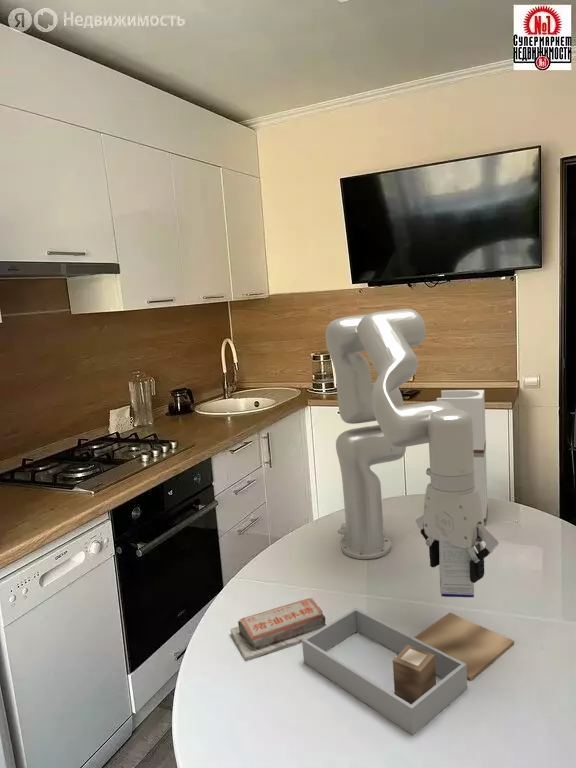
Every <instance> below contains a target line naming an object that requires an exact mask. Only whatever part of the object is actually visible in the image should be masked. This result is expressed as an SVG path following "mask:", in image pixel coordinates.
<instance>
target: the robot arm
mask: <svg viewBox="0 0 576 768" xmlns="http://www.w3.org/2000/svg"><path fill="white" fill-rule="evenodd" d="M426 331H427V330H426V324H425V321H424V318H423V317H422V315H421V314H420V313H419V312H417V311H416V310H414V309H412V308H400V309H391V310H389V309H388V310H379V311H376V312H375V311H374V312H370V313H367V314H366V313H365V314H357V315H350V316H349V315H348V316H343V317H339V318H336V319H333V320H332V321H331V322H329V323H328V324H327V327H326V330H325V343H326V348H327V351H328V355H329V356H330V360H331V362H332V363H333V367H334V372H335V383H336V393H337V405H338V406H337V407H338V412H339V415H340V419H341V420H342V421H343V422H344V423H346V424H349V425H351V424H352V425H353V424H354V425H355V424H357V425H358V424H365V423H371V422H376V421H377V424H376V425H370V426H369V425H367V426H362V427H357V428H351V429H347V430H344V431H343V432H342V433H340V434H339V435H338V436H337V438H336V440H335V450H336V455H337V458H338V463H339V467H340V472H341V473H340V474H341V482H342V493H343V503H344V504H343V505H344V506H343V507H344V517H345V519H344V520H345V522H343V523H342V524H341V525H340V528H338V530H337V533H338V534H339V535H341V536H342V535H343V538H344V539H343V541H342V542H341V545H340V546H341V551H342V553H343V554H345V555H346V556H348V557H350V558H354V559H358V560H372V559H376V558H380V557H383V556H385V555H387V554H388V553H389V552H390V551H391V549H392V543H391V541H390V539H388V538H387V537H385V529H384V528H385V527H384V515H383V514H384V512H383V498H382V483H381V479H380V478H379V476H378V475H377V474H376V473H375V472H374V471H372V470H371V466H373V465H374V466H375V465H378V464H379V465H380V464H384V463H391V462H395V461H398V460H400V459H402V458H403V457H404V456H405V454H406V451H407V447H414V446H419V445H423V444H428V450H429V451H428V452H429V455H428V456H429V467H428V468H426V471H425V474H426V476H429V477H430V482H429V483H427V486H426V489H425V496H424V502H423V503H424V505H423V515H422V516H419V517H418V518H416V519H415V523H416V526H417V527H418V528H419V530H420V534H421V536H422V537H423V538H424V540H425V544H426V546H427V547H428V550H429V551H428V553H429V555H428V556H429V565H430V567H431V568H433V569H434V568H436V567H437V566H439V541H440V534H442V535H445V536H447V537H449V538H450V545H452V546H455V547H458V548H461V549H467V550H468V552H469V554H470V556H471V558H472V560H471V561H470V581H471V582H473V583H474V584H476V583H477V582H479V581H480V580H481V579H483V577H484V576H485V558H486V557H488V556H490V555H491V554H492V553H493V552H494V550H495V549H496V548H497V547H498V546H499V541H498V539H496V538H495V537H494V535H493V534H491V533H490V532H489V530H487V529H486V527H485V526H484V519H483V511H482V504H481V499H480V495H479V492H478V489H477V488H475V474H474V449H473V421H472V417H471V415H470V414H469V413H468V412H466V411H464V410H459V409H457V408H456V407H454V406H453V405H452V404H451V403H449V402H447V401H437V400H433V401H428V402H427V401H426V402H420V403H413V404H406V405H404V399H403V395H402V392H401V390H400V389H399V387H401V386H402V385H404V384H405V383H407V382H408V381H409V380H410V379H412V377H414V375H416V372H417V371H418V368H419V360H418V357H417V355H416V354H415V352H414V350H413V349H412V348H413V347H418V346H420V345H422V343H423V342H424V340H425V338H426V334H427V332H426ZM361 352H365V353H366V355H367V357H368V359H369V361H370V362H371V364H372V366H373V369H374V370H375V372H376V374H377V378H376V379H375V381H374V382H372V377H371V366H370V363H369V361H368V360H367V359H366V358H365V356H364V355H363V354H362V353H361ZM482 542H484V543H485V546H484V545H483V543H482Z"/></svg>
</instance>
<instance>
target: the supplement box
mask: <svg viewBox="0 0 576 768" xmlns="http://www.w3.org/2000/svg"><path fill="white" fill-rule="evenodd" d="M471 560H472V558H471V556H470V554H469V552H468V550H467V549H461V548H458V547H455V546H452V545H450V538H449V537H447V536H445V535H442V534H440V541H439V565H438V566H439V586H440V587H439V588H440V596H441V597H442V598H474V597H475V583H473V582H471V581H470V561H471Z"/></svg>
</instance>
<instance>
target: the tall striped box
mask: <svg viewBox="0 0 576 768" xmlns="http://www.w3.org/2000/svg"><path fill="white" fill-rule="evenodd" d="M440 394H441V395H440V397H437V398H436V401H447V402H449V403H451V404H452V405H453V406H454V407H456V408H457V409H459V410H464V411H466V412H468V413H469V414H470V415H471V417H472V421H473V449H474V474H475V488H477V489H478V492H479V495H480V499H481V504H482V511H483V519H484V527H486V526H487V521H488V513H489V503H488V475H487V436H486V435H487V434H486V433H487V431H486V409H485V408H486V406H485V389H455V390H453V389H452V390H451V389H450V390H448V389H447V390H446V389H445V390H441V391H440Z"/></svg>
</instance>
